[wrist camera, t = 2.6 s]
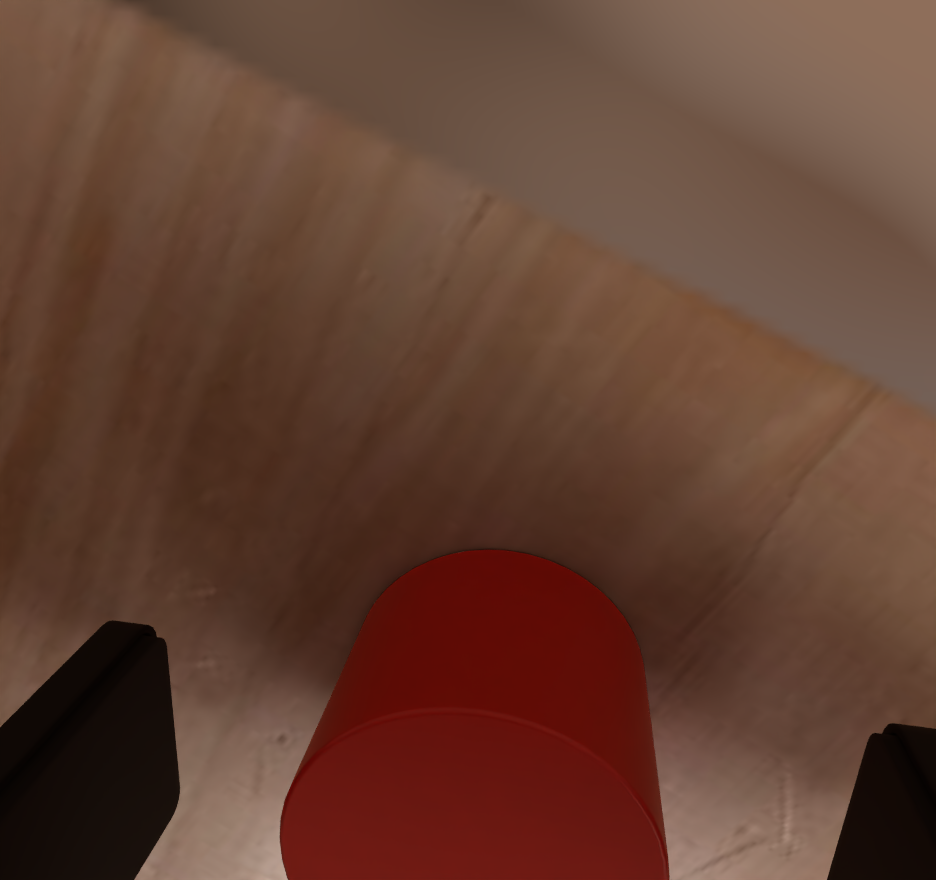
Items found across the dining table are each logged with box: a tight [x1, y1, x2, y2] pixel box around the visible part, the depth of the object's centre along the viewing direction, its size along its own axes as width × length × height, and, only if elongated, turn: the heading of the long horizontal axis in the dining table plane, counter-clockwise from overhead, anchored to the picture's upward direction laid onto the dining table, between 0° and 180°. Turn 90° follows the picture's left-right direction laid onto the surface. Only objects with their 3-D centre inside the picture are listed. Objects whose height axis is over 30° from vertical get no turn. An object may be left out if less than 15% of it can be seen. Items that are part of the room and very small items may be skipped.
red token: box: [280, 550, 669, 880], centre depth 10 cm, size 4×4×4 cm
